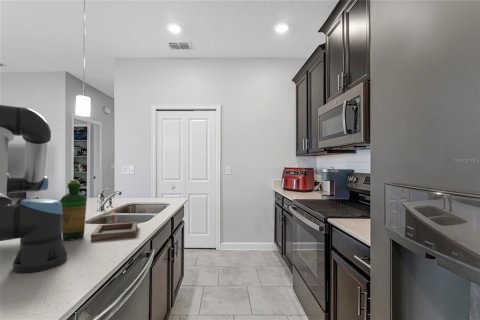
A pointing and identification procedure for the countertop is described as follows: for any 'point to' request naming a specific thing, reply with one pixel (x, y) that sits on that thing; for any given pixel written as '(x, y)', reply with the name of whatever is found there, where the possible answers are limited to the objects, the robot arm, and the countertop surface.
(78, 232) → the bottle
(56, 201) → the robot arm
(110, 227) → the walnut frame
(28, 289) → the countertop surface
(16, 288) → the countertop surface
